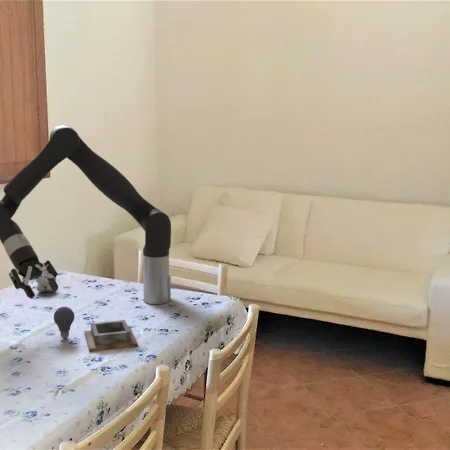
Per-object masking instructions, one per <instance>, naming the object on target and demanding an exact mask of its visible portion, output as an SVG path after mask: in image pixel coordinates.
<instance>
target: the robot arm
mask: <svg viewBox="0 0 450 450" xmlns="http://www.w3.org/2000/svg"><path fill="white" fill-rule="evenodd" d="M65 159H68V161H71V163H73V164H74V165H75V166H76V167H77V168H79V170H81V172H82V173H83V174H84V175H85V177H86V178H87V179H88V181H90V183H91V184H92V185H93V186H94V187H95V188H97V190H98V191H100V192H101V193H102V194H103V195H104V196H105V197H106V198H107V199H109V200H110V201H111V202H113V203H114V204H116V205H117V206H118V207H120V208H122V209H123V210H125V211H126V212H127V213H128V214H129V215H130V216H131V217H132V218H133V219H134V220H135V221H136V222H137V223H138V225H139V226H140V227H141V228H142V229H143V230H144V234H145V235H144V236H145V238H144V239H145V240H144V242H145V243H144V246H143V249H142V259H143V260H142V262H143V263H142V264H143V267H142V268H143V271H142V272H143V277H142V278H143V301H144V303H146V304H149V305H163V304H166V303H168V302H172V300H171V295H172V294H171V292H172V291H171V290H172V289H171V288H172V287H171V286H172V285H171V284H172V283H171V279H172V278H171V275H170V248H171V244H172V243H171V241H172V222H171V219H170V217H169V215H167V213H165V212H164V211H162V210H160V209H158V208H157V207H155V206H154V205H153V204H151V203H150V202H149V201H147V200H146V199H145V198H143V196H142V195H141V194H140V193H139V192H138V190H137V189H136V188H135V187H134V185H133V184H132V183H131V181H130V180H129V179H127V177H125V175H123V174H122V172H120V171H119V170H118V169H117V168H116V167H115V166H113V165H112V164H111V163H110V162H109V161H107V160H106V159H104V158H103V157H102V156H100V155H99V154H97V153H96V152H94V151H93V149H91V147H89V146H88V145H87V144H86V142H84V140H83V139H82V138H81V136H79V133H78V132H77V131H76V130H75V129H74V128H73V127H71V126H68V125H63V124H62V125H58V126H56V127H54V128H52V130H51V132H50V134H49V140H48V142H47V144H46V145H45V146H44V148H42V150H41V152H39V154H38V155H36V156H35V157H34V158H33V159H32V160H31V161H30V162H29V163H28V164H26V165H25V166H24V167H23V168H22V169H21V170H19V171H18V172H17V173H16V174H15V175H14V176H13V177H12V178H11V179H10V180H9V181H8V182H7V183H6V184H5V185H4V187H3V193H4V196H3V197H2V198H1V200H0V242H1V244H2V246H3V248H4V251H5V253H6V255H7V257H8V258H9V260H10V261H11V263H12V265H13V267H14V268H12V269H11V270H10V272H9V273H8V276H9V278H10V279H11V281H12V284H13V285H14V288H15V289H16V290H19V289H21V290H23V291H24V293H25V294H26V297H27V298H29V299H30V300H32V299H34V298H35V297H36V296H35V295H36V293H35V292H34V291H33V288H32V287H31V284H29V283H30V281H33V280H36V279H38V278H40V279H42V280H46V281H47V282H49V283H48V284H49V285H50V287H51V289H52V290H53V292H52V293H55V292H57V291H58V290H59V284H58V283H57V280H56V281H55V278H56V279H57V276H58V272H57V270H56V269H55V267H54V266H53V264H52V263H51V261H50V260H46V261H45V262H40V260H39V257H38V255H37V252H36V251H35V249H34V248H33V246H32V245H31V243H30V241H29V240H28V238H27V237H26V235H25V234H24V232H23V231H22V229H21V226H20V225H18V223H17V222H15V220H13V219H12V218H13V216H14V215H15V214H16V212H17V211H18V209H19V207H20V205H21V203H22V202H23V201H24V200H25V198H26V197H27V196H29V194H30V193H31V192H32V191H33V190H34V189H35V188H36V186H38V185H39V184H40V183H41V182H42V181H43V179H44V178H45V177H46V176H47V175H48V174H49V173H50V172H51V171H52V170H53V169H54V168H55V167H56V166H58V165H59V164H61V162H63V161H65ZM42 273H44V275H42ZM20 276H21V277H22V280H21V278H20ZM48 277H49V278H48Z"/></svg>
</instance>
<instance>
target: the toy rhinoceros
mask: <svg viewBox="0 0 450 450" xmlns="http://www.w3.org/2000/svg"><path fill="white" fill-rule="evenodd" d="M42 275H44V273H42ZM48 278H49V277H48ZM35 280H36V283H37V285H36V290H37V292H40V293H45V292H46V291H47V292H52V293H54V292H53V290H52V289H51V287H50V285H49V284H48V283H49V282H47V281H46V280H42V279H40V278H38V279H35ZM55 281H56V282H57V277H56V278H55Z"/></svg>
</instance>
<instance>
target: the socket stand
mask: <svg viewBox="0 0 450 450" xmlns="http://www.w3.org/2000/svg"><path fill="white" fill-rule="evenodd" d="M83 333H84V337H85V341H86V344H87V347H88V352H89V353H93V352H100V351H110V350H119V349H127V348H136V347H139V343H138V341H137V338H136V336H135V334H134V332H133V331H132V328H131V326H128V324H127V322H126V320H125V319H120V320H111V321H103V322H102V321H101V322H100V321H99V322H91V323H90V330H85V331H84V332H83Z"/></svg>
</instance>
